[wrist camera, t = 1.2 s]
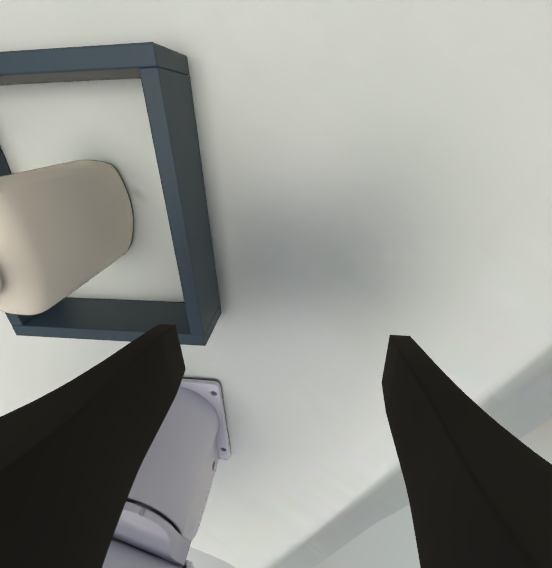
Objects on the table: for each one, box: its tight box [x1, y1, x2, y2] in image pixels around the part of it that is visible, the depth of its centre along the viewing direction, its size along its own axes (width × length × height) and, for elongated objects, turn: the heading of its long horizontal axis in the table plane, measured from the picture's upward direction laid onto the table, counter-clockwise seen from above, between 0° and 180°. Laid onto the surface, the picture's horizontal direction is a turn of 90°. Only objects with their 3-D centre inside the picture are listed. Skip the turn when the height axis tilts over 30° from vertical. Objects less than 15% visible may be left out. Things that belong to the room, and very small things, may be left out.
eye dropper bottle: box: [0, 160, 133, 315], centre depth 14 cm, size 4×6×12 cm
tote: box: [0, 42, 221, 346], centre depth 18 cm, size 15×13×4 cm
